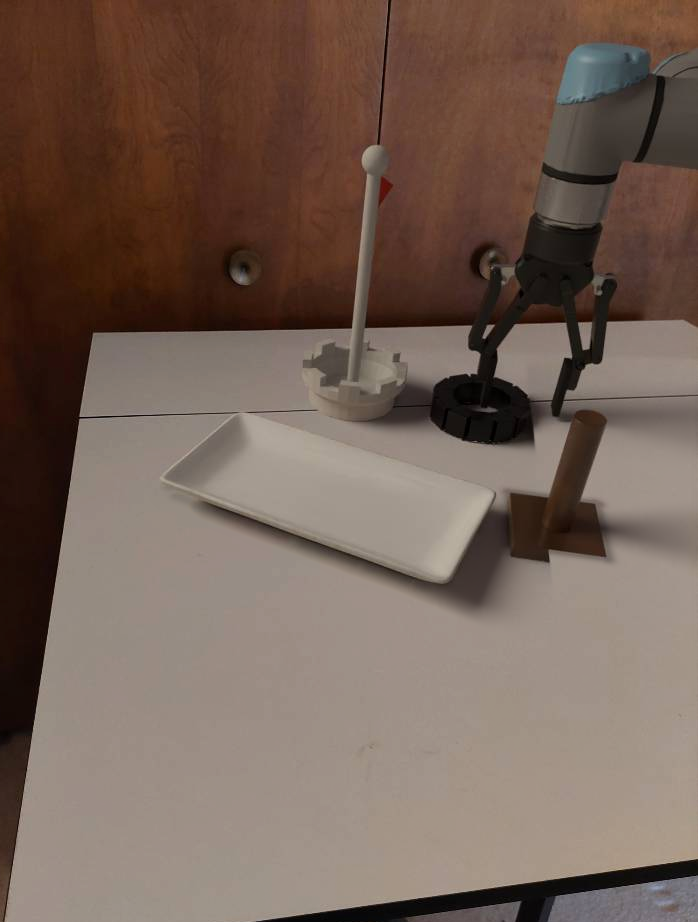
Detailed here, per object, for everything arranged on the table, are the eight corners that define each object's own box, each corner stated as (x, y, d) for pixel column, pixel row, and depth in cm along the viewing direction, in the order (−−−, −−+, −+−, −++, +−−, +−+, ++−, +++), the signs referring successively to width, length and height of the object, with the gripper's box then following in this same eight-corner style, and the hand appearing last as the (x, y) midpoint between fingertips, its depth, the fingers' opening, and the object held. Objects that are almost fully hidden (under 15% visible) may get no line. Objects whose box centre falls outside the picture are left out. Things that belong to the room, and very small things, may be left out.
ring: (522, 400, 104) (527, 379, 102) (527, 449, 95) (533, 427, 93) (431, 389, 105) (435, 369, 104) (428, 436, 96) (432, 415, 95)
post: (591, 514, 86) (632, 399, 77) (602, 569, 79) (649, 450, 70) (506, 503, 87) (537, 388, 78) (510, 556, 80) (544, 437, 71)
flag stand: (373, 436, 96) (407, 170, 77) (281, 404, 101) (291, 146, 82) (418, 393, 105) (459, 144, 85) (332, 364, 110) (352, 123, 90)
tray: (238, 431, 95) (238, 406, 93) (494, 514, 85) (501, 487, 83) (156, 505, 84) (154, 478, 81) (441, 611, 73) (448, 584, 71)
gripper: (662, 215, 86) (601, 402, 100) (467, 197, 88) (435, 382, 102) (677, 239, 80) (609, 433, 95) (467, 218, 82) (433, 412, 97)
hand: (519, 406), depth 98 cm, fingers open, 8 cm apart
